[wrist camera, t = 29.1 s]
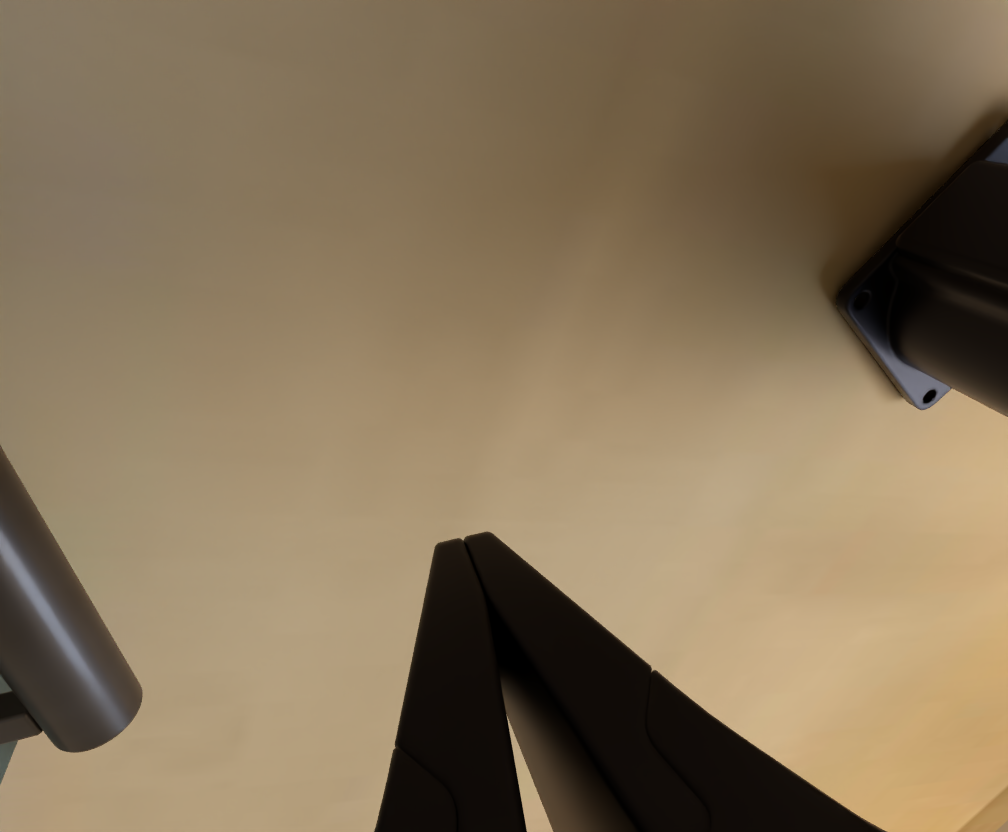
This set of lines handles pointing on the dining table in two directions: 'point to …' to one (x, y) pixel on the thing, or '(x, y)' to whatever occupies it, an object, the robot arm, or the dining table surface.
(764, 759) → the robot arm
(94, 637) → the drawer
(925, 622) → the dining table surface
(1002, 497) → the dining table surface
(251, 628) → the dining table surface
